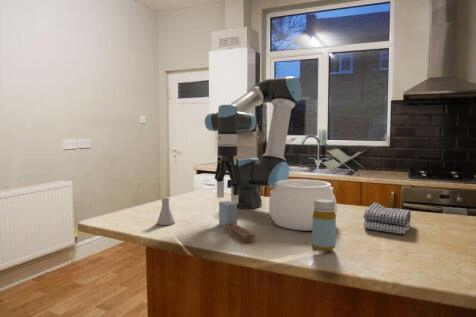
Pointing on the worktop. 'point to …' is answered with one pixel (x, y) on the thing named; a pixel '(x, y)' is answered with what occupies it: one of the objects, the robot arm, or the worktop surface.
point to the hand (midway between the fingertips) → (227, 200)
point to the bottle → (324, 224)
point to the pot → (297, 202)
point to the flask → (165, 213)
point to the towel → (387, 219)
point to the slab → (227, 213)
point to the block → (240, 233)
